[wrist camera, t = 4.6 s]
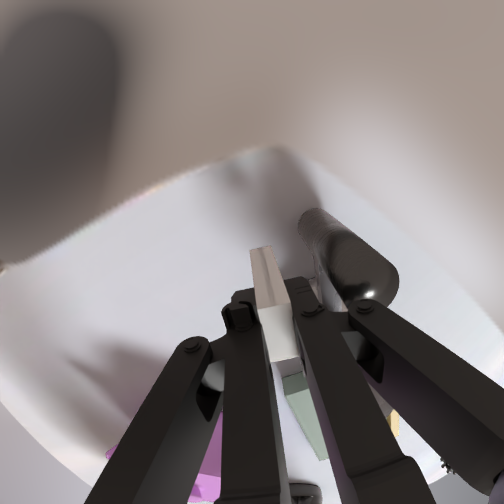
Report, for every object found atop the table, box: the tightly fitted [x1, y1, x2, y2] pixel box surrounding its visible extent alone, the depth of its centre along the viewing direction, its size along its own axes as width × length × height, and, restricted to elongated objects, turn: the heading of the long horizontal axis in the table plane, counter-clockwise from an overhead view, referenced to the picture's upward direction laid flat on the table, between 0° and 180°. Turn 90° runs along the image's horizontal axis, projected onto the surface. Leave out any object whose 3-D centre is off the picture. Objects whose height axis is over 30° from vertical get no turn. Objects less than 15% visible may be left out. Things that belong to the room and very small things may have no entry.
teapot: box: [106, 411, 223, 502], centre depth 24 cm, size 18×10×10 cm, turn 72°
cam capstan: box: [298, 208, 399, 418], centre depth 18 cm, size 13×7×11 cm, turn 11°
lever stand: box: [282, 372, 399, 461], centre depth 26 cm, size 16×11×5 cm
